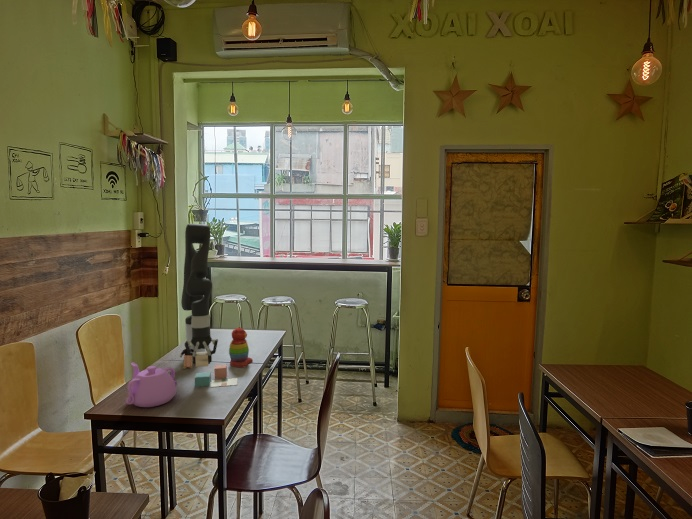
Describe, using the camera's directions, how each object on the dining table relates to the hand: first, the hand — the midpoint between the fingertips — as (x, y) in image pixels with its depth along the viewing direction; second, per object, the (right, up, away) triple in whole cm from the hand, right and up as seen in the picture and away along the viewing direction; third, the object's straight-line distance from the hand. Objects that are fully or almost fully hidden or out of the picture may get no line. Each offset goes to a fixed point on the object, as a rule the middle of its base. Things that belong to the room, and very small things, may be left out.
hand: (202, 363), depth 192 cm
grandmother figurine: (-14, -7, +22) cm, 27 cm away
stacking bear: (+10, -7, +27) cm, 30 cm away
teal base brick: (0, -9, +1) cm, 9 cm away
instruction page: (+9, -9, +2) cm, 13 cm away
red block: (+5, -8, +9) cm, 13 cm away
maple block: (0, 0, 0) cm, 0 cm away
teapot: (-16, -11, -16) cm, 25 cm away
